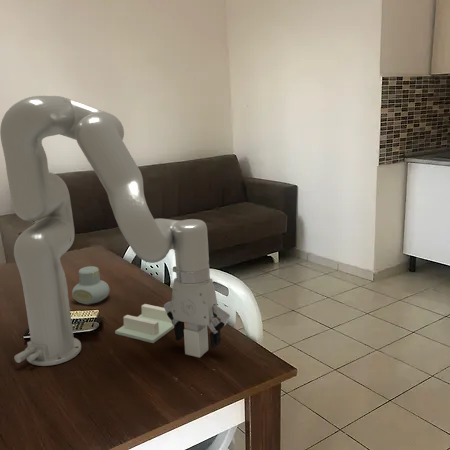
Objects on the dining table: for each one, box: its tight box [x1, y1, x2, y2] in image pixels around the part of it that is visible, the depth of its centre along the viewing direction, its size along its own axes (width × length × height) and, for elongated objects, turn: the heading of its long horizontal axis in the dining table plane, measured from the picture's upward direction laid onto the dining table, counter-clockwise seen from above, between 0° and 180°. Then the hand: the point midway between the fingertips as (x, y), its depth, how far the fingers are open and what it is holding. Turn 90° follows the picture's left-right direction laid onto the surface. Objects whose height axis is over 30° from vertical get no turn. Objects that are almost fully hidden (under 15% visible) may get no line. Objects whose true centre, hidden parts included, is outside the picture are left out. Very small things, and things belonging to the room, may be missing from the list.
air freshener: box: [71, 265, 111, 306], centre depth 147 cm, size 11×8×10 cm
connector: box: [183, 323, 209, 359], centre depth 116 cm, size 4×4×8 cm
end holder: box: [114, 303, 174, 344], centre depth 130 cm, size 14×12×4 cm
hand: (197, 342), depth 116 cm, fingers open, 9 cm apart
